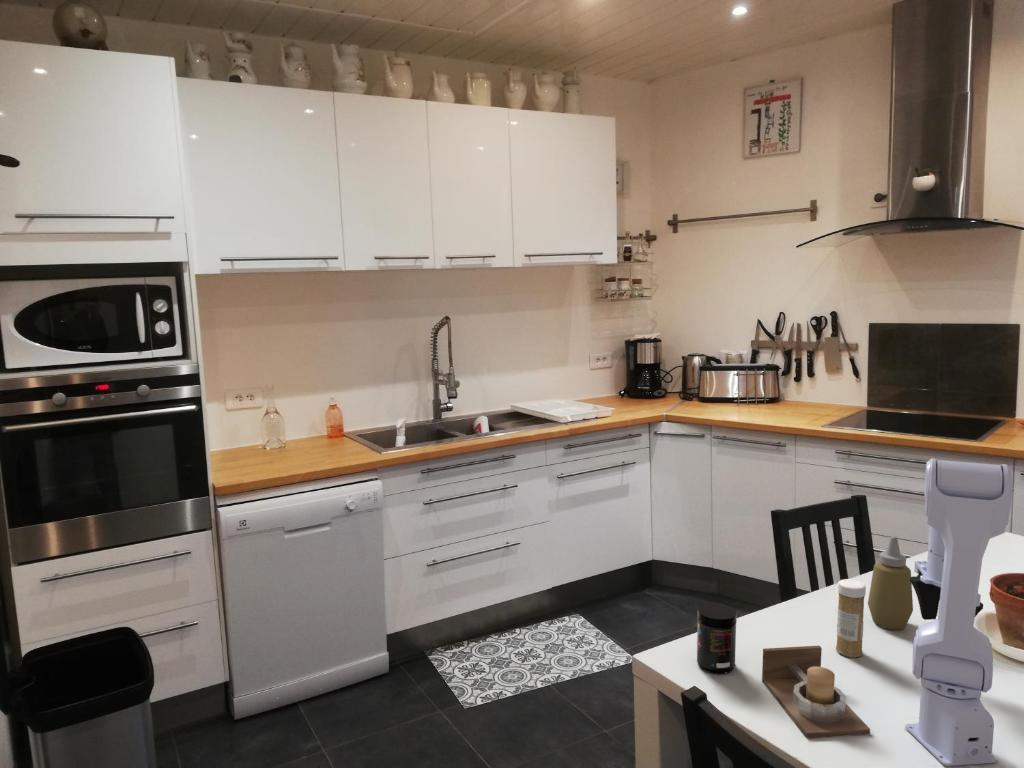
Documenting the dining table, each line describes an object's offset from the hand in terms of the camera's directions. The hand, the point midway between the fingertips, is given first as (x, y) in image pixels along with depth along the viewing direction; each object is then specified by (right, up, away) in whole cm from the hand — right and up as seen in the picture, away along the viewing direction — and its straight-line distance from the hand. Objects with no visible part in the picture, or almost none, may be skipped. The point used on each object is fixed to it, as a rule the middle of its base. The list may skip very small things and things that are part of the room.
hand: (942, 628), depth 124 cm
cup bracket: (-24, -11, -6) cm, 27 cm away
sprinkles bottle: (-11, -8, +11) cm, 18 cm away
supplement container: (-36, -9, +7) cm, 38 cm away
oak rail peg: (-24, -10, -8) cm, 27 cm away
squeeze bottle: (+2, -7, +22) cm, 23 cm away
